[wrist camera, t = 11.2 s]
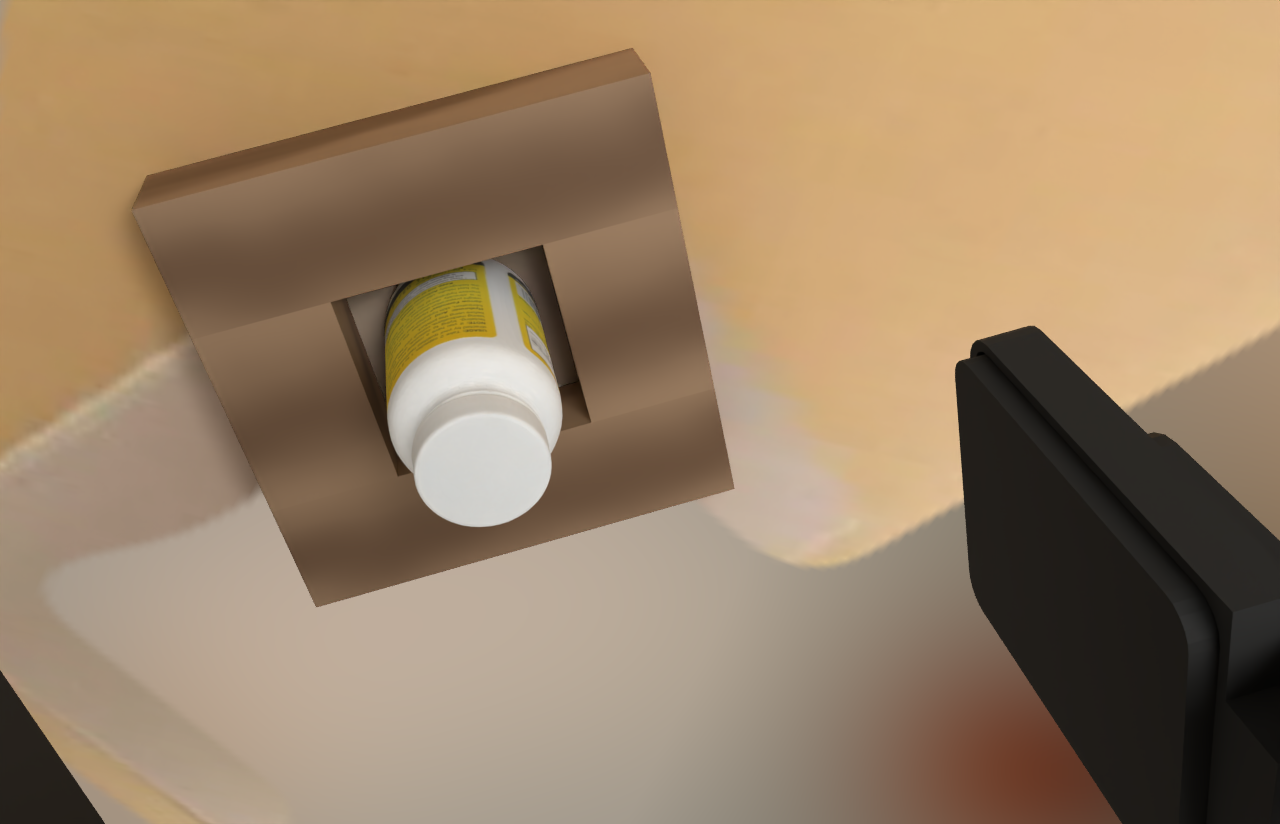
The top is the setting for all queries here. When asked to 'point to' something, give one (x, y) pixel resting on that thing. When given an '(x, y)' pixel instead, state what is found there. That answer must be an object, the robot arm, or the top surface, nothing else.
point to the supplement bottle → (471, 392)
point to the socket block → (425, 245)
